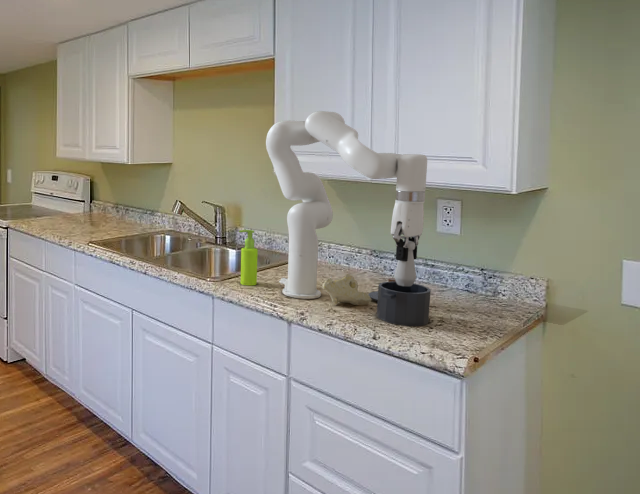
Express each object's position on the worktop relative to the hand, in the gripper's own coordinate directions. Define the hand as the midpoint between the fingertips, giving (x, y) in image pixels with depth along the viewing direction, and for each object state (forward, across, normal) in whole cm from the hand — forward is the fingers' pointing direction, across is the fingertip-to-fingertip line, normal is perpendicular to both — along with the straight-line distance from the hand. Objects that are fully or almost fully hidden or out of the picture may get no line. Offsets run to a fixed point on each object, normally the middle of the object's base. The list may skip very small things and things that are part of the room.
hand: (406, 258), depth 160 cm
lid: (+17, -16, -12) cm, 26 cm away
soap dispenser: (+18, +6, -55) cm, 58 cm away
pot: (+18, 0, 0) cm, 18 cm away
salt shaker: (+8, 0, 0) cm, 8 cm away
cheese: (+18, +2, -18) cm, 26 cm away
